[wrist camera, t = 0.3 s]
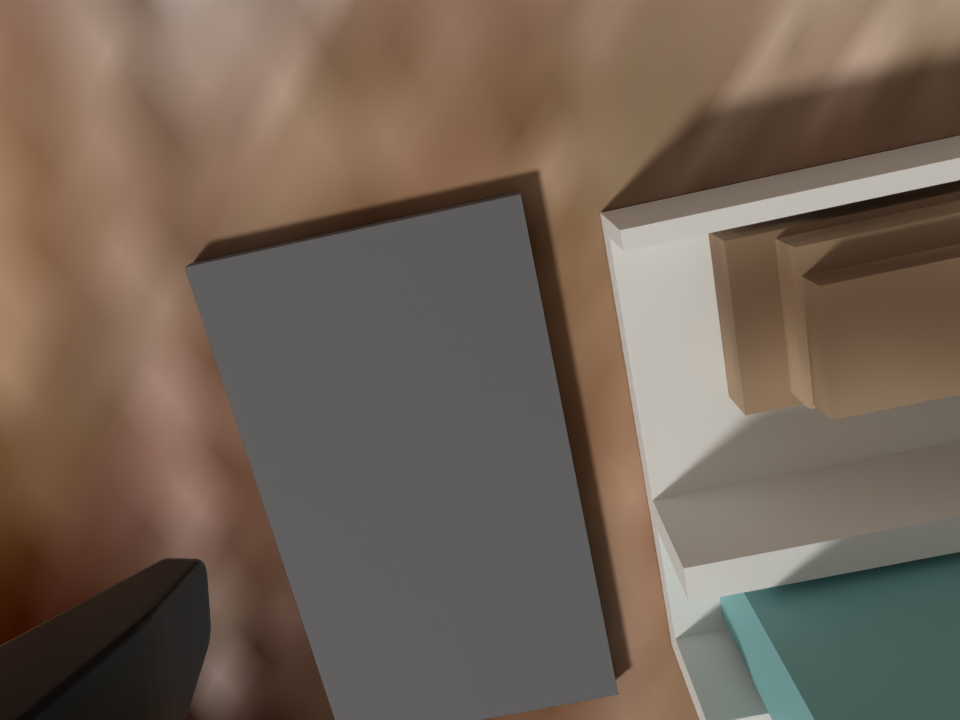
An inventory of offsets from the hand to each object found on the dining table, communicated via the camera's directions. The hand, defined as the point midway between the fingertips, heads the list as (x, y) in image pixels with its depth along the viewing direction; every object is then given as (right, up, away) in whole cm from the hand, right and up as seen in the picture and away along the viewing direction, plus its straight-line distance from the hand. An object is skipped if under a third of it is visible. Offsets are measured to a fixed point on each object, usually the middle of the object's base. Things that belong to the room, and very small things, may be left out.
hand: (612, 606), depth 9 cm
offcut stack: (+10, +5, +12) cm, 16 cm away
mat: (-3, -1, +15) cm, 15 cm away
